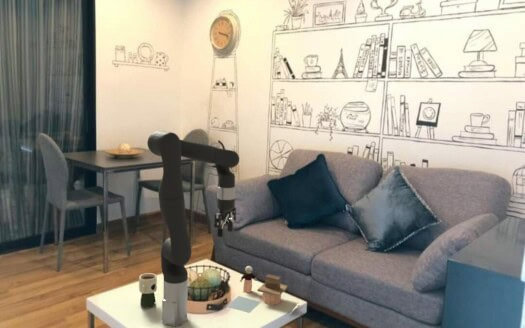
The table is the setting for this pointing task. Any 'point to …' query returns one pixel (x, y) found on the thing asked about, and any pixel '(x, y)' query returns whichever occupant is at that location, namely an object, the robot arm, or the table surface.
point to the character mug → (148, 289)
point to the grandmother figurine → (248, 279)
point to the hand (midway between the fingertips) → (225, 233)
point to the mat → (243, 304)
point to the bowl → (271, 299)
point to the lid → (273, 286)
